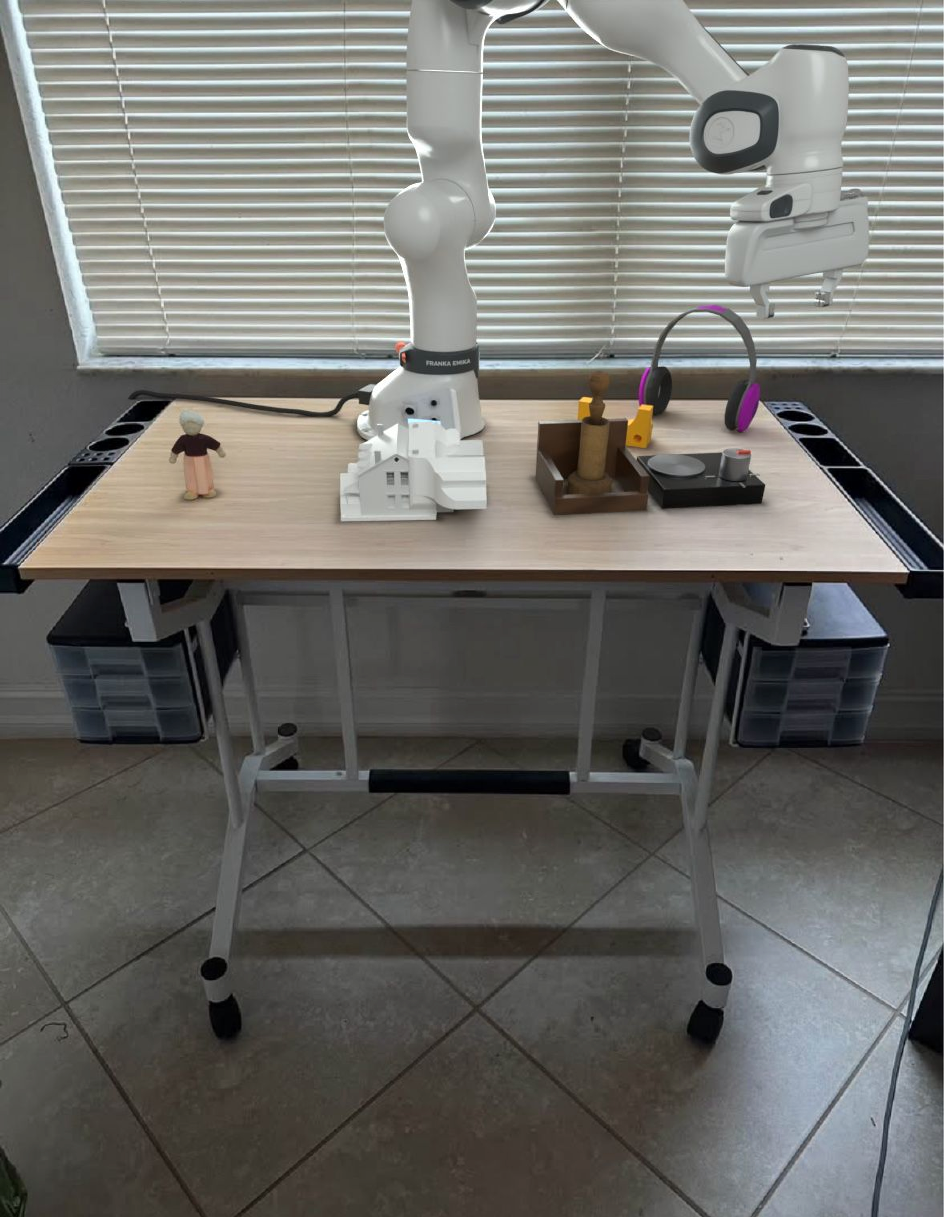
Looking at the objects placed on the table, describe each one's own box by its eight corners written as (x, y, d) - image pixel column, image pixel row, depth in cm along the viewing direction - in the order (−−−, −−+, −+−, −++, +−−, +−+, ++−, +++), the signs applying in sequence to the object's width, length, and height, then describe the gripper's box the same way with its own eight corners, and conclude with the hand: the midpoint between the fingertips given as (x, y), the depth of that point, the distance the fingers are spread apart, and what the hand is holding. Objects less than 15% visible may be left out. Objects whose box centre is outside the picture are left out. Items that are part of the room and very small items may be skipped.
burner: (657, 478, 122) (658, 476, 122) (640, 457, 129) (640, 455, 129) (713, 476, 123) (714, 473, 123) (693, 455, 130) (693, 452, 130)
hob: (663, 510, 120) (666, 490, 118) (634, 474, 131) (637, 454, 129) (767, 505, 121) (771, 485, 120) (730, 469, 133) (733, 450, 131)
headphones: (758, 426, 151) (781, 309, 140) (743, 440, 144) (766, 319, 134) (649, 405, 160) (662, 295, 150) (630, 418, 154) (643, 303, 143)
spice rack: (554, 515, 118) (558, 454, 113) (535, 477, 129) (538, 421, 125) (646, 510, 120) (654, 450, 115) (620, 474, 131) (626, 418, 126)
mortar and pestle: (609, 504, 121) (622, 380, 112) (564, 500, 122) (573, 376, 113) (612, 486, 127) (624, 366, 117) (569, 482, 128) (578, 363, 118)
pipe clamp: (650, 439, 144) (655, 402, 141) (645, 448, 141) (650, 410, 137) (582, 430, 148) (585, 393, 145) (576, 438, 144) (578, 401, 141)
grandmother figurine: (179, 504, 120) (163, 417, 113) (174, 494, 123) (158, 409, 116) (233, 494, 123) (221, 410, 116) (227, 485, 126) (214, 402, 119)
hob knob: (725, 482, 121) (729, 456, 119) (714, 471, 124) (718, 446, 122) (751, 480, 121) (756, 455, 119) (740, 470, 125) (744, 445, 123)
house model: (347, 482, 127) (343, 419, 122) (479, 480, 128) (480, 417, 123) (338, 538, 111) (332, 468, 106) (489, 536, 112) (490, 466, 107)
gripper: (850, 186, 111) (839, 296, 117) (719, 207, 105) (716, 322, 112) (887, 185, 106) (874, 301, 112) (751, 207, 100) (746, 328, 106)
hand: (794, 312), depth 112 cm, fingers open, 8 cm apart
